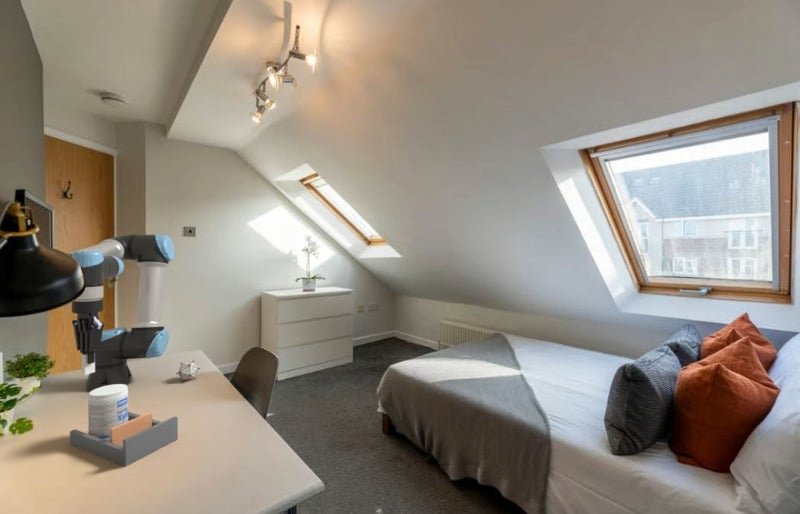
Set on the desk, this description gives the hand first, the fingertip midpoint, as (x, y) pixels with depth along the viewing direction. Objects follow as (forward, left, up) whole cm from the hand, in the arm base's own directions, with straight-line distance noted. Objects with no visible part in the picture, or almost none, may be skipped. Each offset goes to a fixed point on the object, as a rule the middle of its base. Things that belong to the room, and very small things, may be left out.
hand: (88, 373), depth 112 cm
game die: (-10, +42, -19) cm, 47 cm away
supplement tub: (+10, 0, -19) cm, 21 cm away
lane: (+17, 0, -18) cm, 25 cm away
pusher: (+23, 0, -18) cm, 29 cm away
